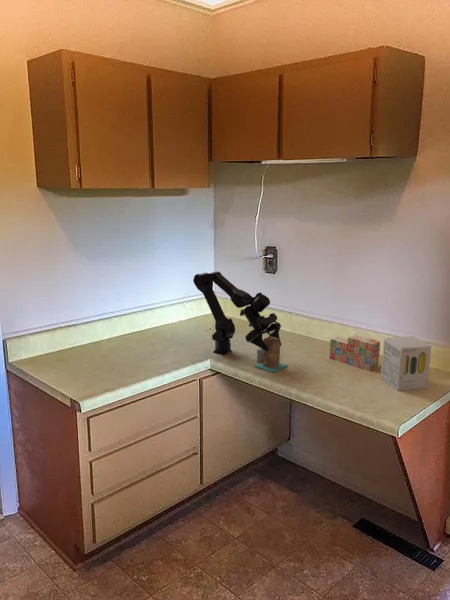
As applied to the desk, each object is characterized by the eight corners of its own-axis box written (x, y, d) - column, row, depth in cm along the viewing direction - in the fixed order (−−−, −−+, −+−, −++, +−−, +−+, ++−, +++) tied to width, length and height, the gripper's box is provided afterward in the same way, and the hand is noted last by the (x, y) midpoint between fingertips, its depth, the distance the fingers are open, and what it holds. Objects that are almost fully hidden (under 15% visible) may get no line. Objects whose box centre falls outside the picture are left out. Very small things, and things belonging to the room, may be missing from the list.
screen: (256, 361, 238) (257, 349, 237) (265, 352, 250) (265, 341, 249) (260, 362, 238) (260, 350, 237) (268, 353, 250) (268, 341, 248)
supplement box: (397, 391, 208) (401, 348, 204) (379, 378, 221) (383, 337, 217) (427, 388, 211) (432, 345, 207) (409, 376, 224) (413, 335, 220)
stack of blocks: (328, 358, 244) (330, 332, 241) (337, 355, 248) (338, 329, 245) (370, 371, 229) (372, 343, 226) (378, 368, 233) (380, 340, 230)
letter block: (262, 365, 232) (263, 338, 229) (269, 362, 236) (270, 335, 233) (272, 368, 229) (273, 340, 226) (279, 365, 233) (280, 338, 230)
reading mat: (254, 366, 232) (254, 365, 232) (268, 361, 239) (268, 359, 239) (273, 372, 226) (273, 371, 225) (287, 366, 233) (287, 365, 233)
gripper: (251, 312, 222) (272, 343, 218) (278, 304, 236) (298, 333, 231) (236, 326, 229) (256, 357, 225) (263, 318, 243) (282, 347, 238)
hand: (274, 348), depth 230 cm, fingers open, 9 cm apart
